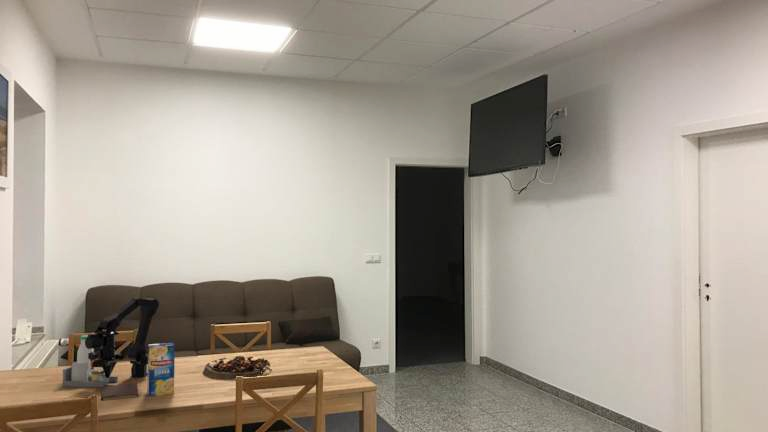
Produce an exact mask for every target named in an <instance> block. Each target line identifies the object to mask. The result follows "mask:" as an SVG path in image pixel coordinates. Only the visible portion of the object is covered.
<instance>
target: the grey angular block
mask: <svg viewBox="0 0 768 432" xmlns="http://www.w3.org/2000/svg"><path fill="white" fill-rule="evenodd" d="M71 366H72V373H71V381H88V362H86V363H77V362H73V363H71Z"/></svg>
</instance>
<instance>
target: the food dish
mask: <svg viewBox="0 0 768 432" xmlns="http://www.w3.org/2000/svg"><path fill="white" fill-rule="evenodd" d="M253 358H254V357H253V356H249V357H247V358H245V357H244V356H243V355H242V356H241V355H239V356H235V357H234V358H233V359H229V360H228V361H226V362H224V360H226V359H227V357H223V358H219V359H215V360H212V361H210V362H208V363H206V365H205V366H204V368H203V372H202V373H201V374H202V375H203V376H204V377H206V378H207V379H211V380H236V379H235V378H236V376H243V377H248V378H251V376H253V377H257V375H258V374H260V375H262V374H263V373H265V372H266V371H267V370H269V368H270V367H271V363H270V361H269V360H268V359H265V358H264V357H262V358H261V357H259V358H256V359H255V360H254V359H253ZM246 359H247V360H246ZM210 363H214V364H213V365H212V364H210ZM264 371H265V372H264ZM261 372H262V374H261ZM258 376H259V375H258Z"/></svg>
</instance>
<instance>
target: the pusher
mask: <svg viewBox="0 0 768 432" xmlns="http://www.w3.org/2000/svg"><path fill="white" fill-rule="evenodd" d="M99 381H108V383H111V382H110V377H109V378H106V376H105V373H104V374H103V375H101V376H99Z"/></svg>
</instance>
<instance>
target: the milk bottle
mask: <svg viewBox="0 0 768 432" xmlns="http://www.w3.org/2000/svg"><path fill="white" fill-rule="evenodd" d="M87 337H88V334H86V335H85V334H84V335H81V336H80V344H79V348H78V349H77V355H76V363H86V362H88V376H92V374H91V371H93V370H95V367H92V363H93V362H94V361H95V360H93V361H91V360H90V359H88V354H89V353H90V352H94V353H95V349H94V348H92V349H87V348H86V346H85V340H86V338H87Z"/></svg>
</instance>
